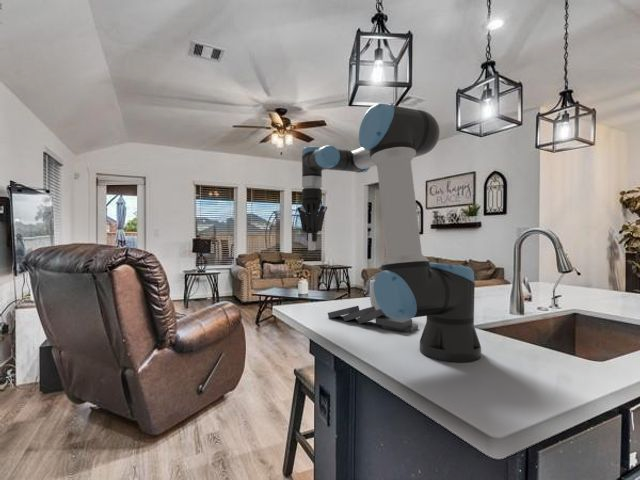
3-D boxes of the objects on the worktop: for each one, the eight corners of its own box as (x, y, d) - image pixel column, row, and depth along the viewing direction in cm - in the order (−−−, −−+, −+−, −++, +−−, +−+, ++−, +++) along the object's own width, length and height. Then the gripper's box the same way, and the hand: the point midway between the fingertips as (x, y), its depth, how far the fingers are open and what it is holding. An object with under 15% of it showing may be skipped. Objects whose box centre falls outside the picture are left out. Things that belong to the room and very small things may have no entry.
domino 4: (385, 320, 125) (412, 325, 118) (375, 323, 120) (402, 329, 113) (385, 314, 125) (412, 319, 118) (375, 317, 120) (402, 322, 113)
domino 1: (339, 315, 137) (359, 311, 131) (328, 318, 133) (349, 313, 126) (338, 310, 138) (358, 305, 131) (327, 312, 133) (348, 308, 127)
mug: (413, 318, 133) (413, 282, 133) (391, 322, 127) (391, 284, 127) (384, 310, 146) (384, 278, 145) (363, 314, 140) (363, 280, 139)
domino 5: (389, 326, 125) (417, 330, 119) (381, 330, 120) (411, 334, 114) (389, 320, 125) (417, 324, 119) (381, 324, 120) (411, 328, 114)
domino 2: (355, 318, 133) (376, 311, 126) (344, 321, 128) (365, 314, 122) (353, 313, 133) (374, 306, 127) (342, 316, 129) (364, 308, 122)
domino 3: (370, 320, 129) (390, 312, 122) (358, 324, 125) (379, 315, 118) (368, 315, 129) (388, 306, 122) (356, 318, 125) (377, 309, 118)
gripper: (331, 188, 139) (331, 250, 139) (304, 190, 146) (304, 249, 147) (320, 186, 133) (319, 251, 133) (292, 188, 140) (292, 250, 141)
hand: (311, 250), depth 140 cm, fingers closed
